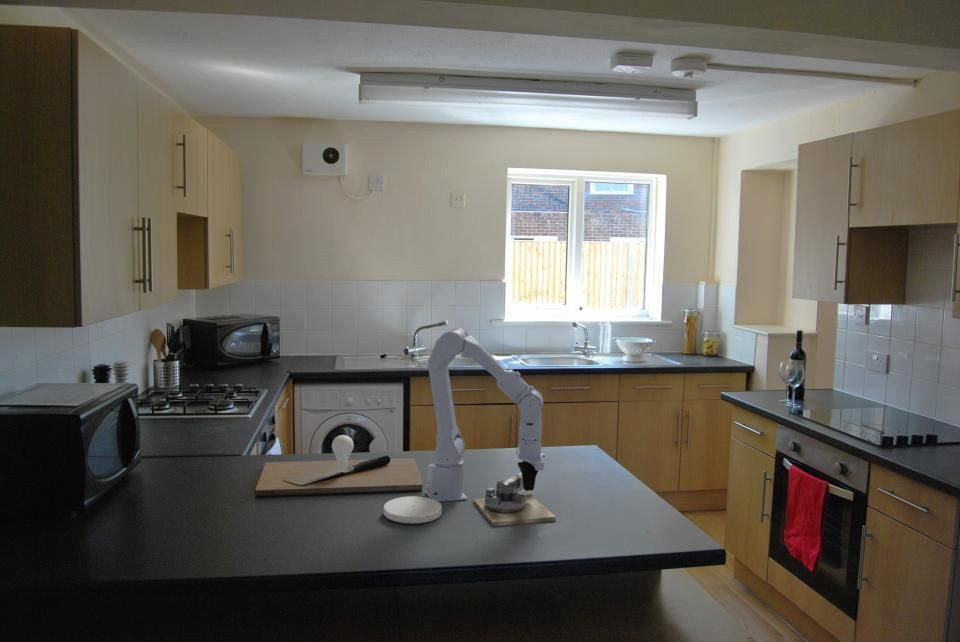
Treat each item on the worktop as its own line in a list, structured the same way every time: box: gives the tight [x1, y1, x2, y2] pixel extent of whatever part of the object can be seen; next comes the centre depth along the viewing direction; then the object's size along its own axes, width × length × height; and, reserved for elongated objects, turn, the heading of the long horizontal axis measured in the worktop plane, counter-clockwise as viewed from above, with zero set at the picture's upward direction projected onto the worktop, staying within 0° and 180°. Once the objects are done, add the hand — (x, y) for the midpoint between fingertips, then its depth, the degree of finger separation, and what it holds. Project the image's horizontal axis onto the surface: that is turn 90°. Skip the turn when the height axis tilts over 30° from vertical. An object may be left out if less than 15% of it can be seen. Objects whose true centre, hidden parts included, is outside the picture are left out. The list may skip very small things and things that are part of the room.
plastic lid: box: [383, 495, 443, 524], centre depth 171 cm, size 14×14×2 cm
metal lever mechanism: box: [484, 472, 526, 513], centre depth 180 cm, size 20×10×6 cm, turn 149°
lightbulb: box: [331, 434, 355, 469], centre depth 201 cm, size 6×6×11 cm
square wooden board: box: [473, 492, 557, 527], centre depth 176 cm, size 16×17×1 cm
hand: (528, 489), depth 181 cm, fingers closed
